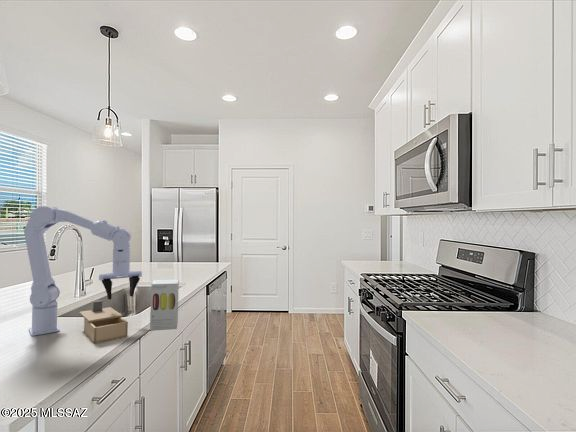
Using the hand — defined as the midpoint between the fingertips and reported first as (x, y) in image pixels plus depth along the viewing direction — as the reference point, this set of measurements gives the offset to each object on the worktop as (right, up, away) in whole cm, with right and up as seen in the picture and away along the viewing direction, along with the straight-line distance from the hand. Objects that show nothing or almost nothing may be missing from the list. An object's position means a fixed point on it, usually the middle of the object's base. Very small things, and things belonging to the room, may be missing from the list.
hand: (120, 297), depth 126 cm
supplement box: (+17, -11, -1) cm, 20 cm away
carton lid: (-5, -5, -6) cm, 9 cm away
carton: (0, -10, -11) cm, 15 cm away
